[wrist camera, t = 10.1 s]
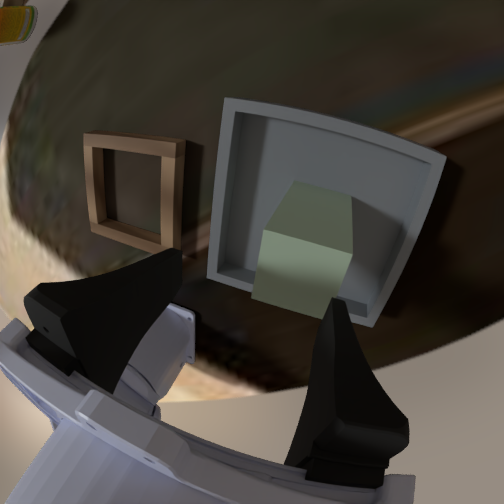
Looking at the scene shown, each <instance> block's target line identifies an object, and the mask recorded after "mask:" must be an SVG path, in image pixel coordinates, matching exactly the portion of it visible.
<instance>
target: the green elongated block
mask: <svg viewBox="0 0 504 504" xmlns="http://www.w3.org/2000/svg"><path fill="white" fill-rule="evenodd" d="M352 255H353V229H352V200H351V196H350V195H347V194H343V193H340V192H336V191H333V190H329V189H326V188H322V187H318V186H314V185H311V184H307V183H303V182H299V181H295V180H294V182H293V183H292V185H291V187H290V188H289V190H288V191H287V193H286V195H285V196H284V198H283V199H282V201H281V203H280V204H279V206H278V207H277V209H276V210H275V212H274V214H273V215H272V217H271V218H270V220H269V222H268V223H267V225H266V226H265V228H264V230H263V236H262V241H261V247H260V252H259V258H258V263H257V269H256V274H255V280H254V285H253V291H252V296H251V298H252V299H256V300H259V301H262V302H265V303H269V304H272V305H275V306H279V307H282V308H285V309H289V310H292V311H295V312H299V313H302V314H306V315H309V316H313V317H316V318H320V319H323V317H324V314H325V312H326V310H327V307H328V305H329V303H330V300H331V298H332V297H334V298H336V296H337V294H338V292H339V289H340V287H341V284H342V281H343V279H344V276H345V274H346V271H347V269H348V266H349V263H350V261H351V258H352Z"/></svg>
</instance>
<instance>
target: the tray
mask: <svg viewBox="0 0 504 504" xmlns="http://www.w3.org/2000/svg"><path fill="white" fill-rule="evenodd" d="M446 158H447V157H446V156H445V155H443V154H441V153H440V152H438V151H436V150H434V149H432V148H430V147H427V146H425V145H422V144H420V143H417V142H415V141H412V140H409V139H407V138H404V137H401V136H398V135H395V134H393V133H390V132H387V131H384V130H381V129H378V128H375V127H371V126H368V125H365V124H362V123H358V122H355V121H351V120H348V119H344V118H340V117H337V116H333V115H329V114H325V113H321V112H317V111H312V110H308V109H303V108H299V107H294V106H289V105H284V104H278V103H273V102H267V101H261V100H254V99H247V98H240V97H225V99H224V107H223V114H222V122H221V130H220V139H219V147H218V156H217V165H216V175H215V185H214V195H213V205H212V217H211V228H210V241H209V254H208V268H207V278H209V279H212V280H215V281H218V282H221V283H224V284H227V285H230V286H233V287H237V288H240V289H243V290H246V291H249V292H252V291H253V285H254V280H255V274H256V269H257V263H258V258H259V252H260V247H261V241H262V236H263V230H264V228H265V226H266V225H267V223H268V222H269V220H270V218H271V217H272V215H273V214H274V212H275V210H276V209H277V207H278V206H279V204H280V203H281V201H282V199H283V198H284V196H285V195H286V193H287V191H288V190H289V188H290V187H291V185H292V183H293V182H294V180H295V181H299V182H303V183H307V184H311V185H314V186H318V187H322V188H326V189H329V190H333V191H336V192H340V193H343V194H347V195H350V196H351V200H352V229H353V255H352V258H351V261H350V263H349V266H348V269H347V271H346V274H345V276H344V279H343V281H342V284H341V287H340V289H339V292H338V294H337V296H336V298H337V299H340V300H344V301H345V302H346V305H347V309H348V312H349V316H350V319H351V322H354V323H358V324H361V325H365V326H369V327H373V326H374V324H375V322H376V320H377V319H378V317H379V315H380V313H381V311H382V310H383V308H384V306H385V304H386V302H387V300H388V298H389V296H390V295H391V293H392V291H393V289H394V287H395V285H396V283H397V281H398V279H399V277H400V275H401V273H402V271H403V269H404V266H405V264H406V262H407V260H408V258H409V256H410V253H411V251H412V249H413V247H414V244H415V242H416V240H417V238H418V235H419V233H420V230H421V228H422V226H423V223H424V221H425V218H426V216H427V213H428V210H429V208H430V205H431V202H432V200H433V197H434V194H435V191H436V189H437V186H438V183H439V180H440V177H441V174H442V171H443V167H444V164H445V161H446Z"/></svg>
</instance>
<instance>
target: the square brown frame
mask: <svg viewBox="0 0 504 504" xmlns="http://www.w3.org/2000/svg"><path fill="white" fill-rule="evenodd" d="M185 147H186V140H184V139H177V138H169V137H162V136H153V135H144V134H135V133H124V132H112V131H97V130H94V131H91V132H87V133H84V163H85V178H86V190H87V201H88V210H89V218H90V225H91V231H92V232H94V233H97V234H100V235H102V236H105V237H108V238H111V239H113V240H116V241H119V242H122V243H125V244H127V245H130V246H133V247H136V248H139V249H142V250H144V251H147V252H150V253H153V254H157V253H159V252H161V251H164V250H166V249H169V248H175V249H178V250H181V224H182V197H183V177H184V161H185ZM103 148H108V149H116V150H123V151H130V152H137V153H144V154H151V155H157V156H162V166H161V235H160V234H157V233H154V232H150V231H147V230H144V229H141V228H137V227H134V226H131V225H128V224H125V223H122V222H118V221H115V220H112V219H109V218H107V212H106V201H105V187H104V167H103Z"/></svg>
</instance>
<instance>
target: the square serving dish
mask: <svg viewBox="0 0 504 504" xmlns="http://www.w3.org/2000/svg"><path fill="white" fill-rule="evenodd" d="M22 5H23V0H1V3H0V7H8V6H22Z"/></svg>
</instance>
